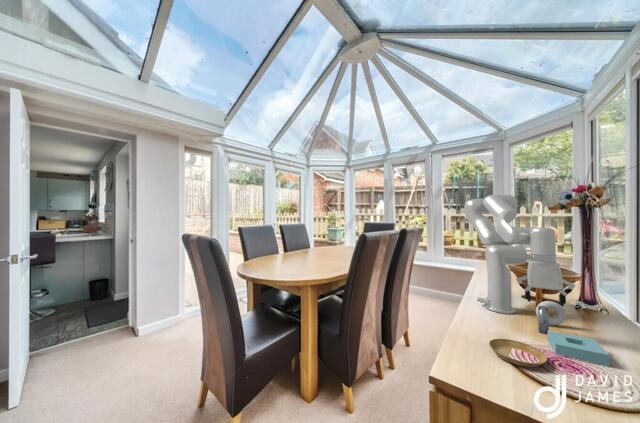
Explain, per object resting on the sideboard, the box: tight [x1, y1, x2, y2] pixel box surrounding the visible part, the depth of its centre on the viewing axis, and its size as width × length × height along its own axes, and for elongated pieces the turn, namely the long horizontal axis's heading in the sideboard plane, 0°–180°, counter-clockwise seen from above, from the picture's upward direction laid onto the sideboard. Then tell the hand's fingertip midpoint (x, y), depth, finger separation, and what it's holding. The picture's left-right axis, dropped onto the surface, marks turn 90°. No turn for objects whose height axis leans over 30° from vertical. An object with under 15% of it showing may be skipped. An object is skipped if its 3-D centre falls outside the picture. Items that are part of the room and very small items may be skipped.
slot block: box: [547, 329, 611, 368], centre depth 83 cm, size 12×12×4 cm
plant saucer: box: [488, 338, 548, 368], centre depth 80 cm, size 15×15×3 cm
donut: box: [535, 300, 567, 326], centre depth 104 cm, size 10×4×10 cm, turn 71°
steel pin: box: [537, 305, 550, 335], centre depth 97 cm, size 3×3×10 cm
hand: (544, 303), depth 97 cm, fingers open, 9 cm apart
